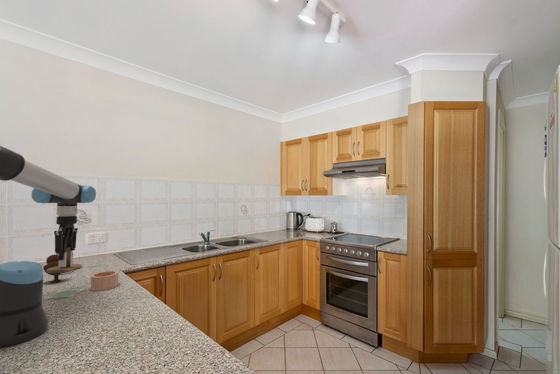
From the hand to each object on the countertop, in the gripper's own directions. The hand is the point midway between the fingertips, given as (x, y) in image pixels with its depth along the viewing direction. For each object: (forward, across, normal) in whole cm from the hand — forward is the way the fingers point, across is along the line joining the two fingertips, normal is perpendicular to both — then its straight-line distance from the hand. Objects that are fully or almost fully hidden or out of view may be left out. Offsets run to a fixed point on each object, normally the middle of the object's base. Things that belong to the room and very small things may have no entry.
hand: (65, 265), depth 122 cm
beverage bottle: (+13, +41, +24) cm, 49 cm away
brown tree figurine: (+13, +21, +16) cm, 29 cm away
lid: (+1, 0, 0) cm, 1 cm away
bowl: (+13, +7, -14) cm, 20 cm away
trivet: (+13, +1, 0) cm, 13 cm away
